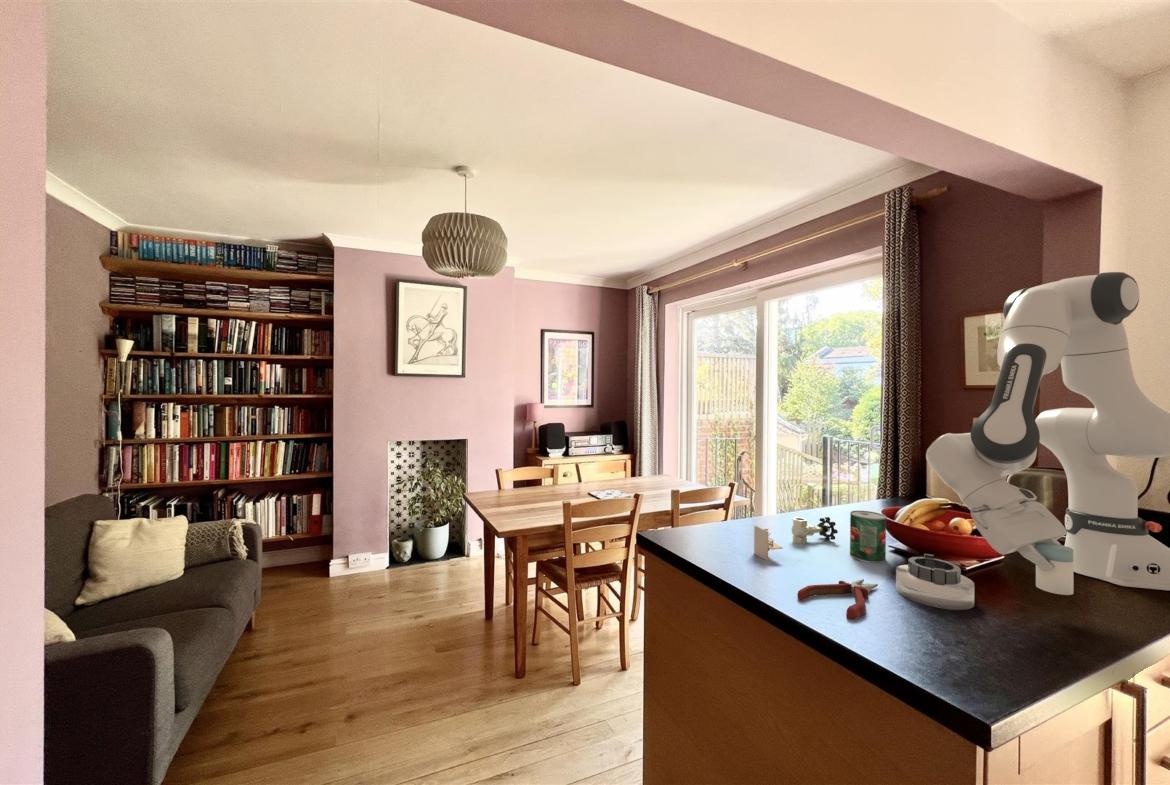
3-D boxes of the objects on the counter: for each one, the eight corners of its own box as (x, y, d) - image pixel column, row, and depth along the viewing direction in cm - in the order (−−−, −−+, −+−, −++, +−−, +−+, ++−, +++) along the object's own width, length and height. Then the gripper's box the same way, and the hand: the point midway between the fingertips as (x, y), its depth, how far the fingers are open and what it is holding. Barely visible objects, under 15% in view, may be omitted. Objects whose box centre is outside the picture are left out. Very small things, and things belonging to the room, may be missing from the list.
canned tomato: (893, 563, 115) (893, 518, 115) (860, 562, 115) (861, 518, 115) (873, 552, 123) (874, 510, 123) (843, 551, 123) (844, 510, 123)
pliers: (900, 597, 97) (900, 585, 97) (854, 624, 85) (854, 610, 85) (843, 579, 106) (843, 567, 106) (794, 601, 94) (794, 588, 94)
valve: (801, 547, 127) (837, 543, 130) (802, 522, 127) (838, 520, 130) (785, 539, 133) (819, 536, 136) (785, 516, 133) (820, 514, 136)
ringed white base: (960, 585, 102) (960, 553, 102) (983, 615, 88) (983, 578, 88) (889, 574, 108) (890, 544, 108) (901, 601, 94) (901, 566, 94)
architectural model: (765, 552, 122) (765, 524, 122) (782, 562, 115) (782, 532, 115) (753, 553, 121) (753, 525, 121) (770, 563, 114) (770, 533, 114)
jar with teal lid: (1065, 586, 89) (1065, 544, 89) (1079, 597, 85) (1079, 553, 85) (1031, 581, 91) (1031, 541, 91) (1042, 591, 87) (1042, 549, 87)
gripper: (979, 500, 90) (1045, 568, 81) (1035, 490, 98) (1101, 550, 89) (953, 517, 94) (1013, 583, 85) (1009, 506, 102) (1069, 566, 93)
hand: (1058, 566), depth 87 cm, fingers closed on jar with teal lid, 5 cm apart
